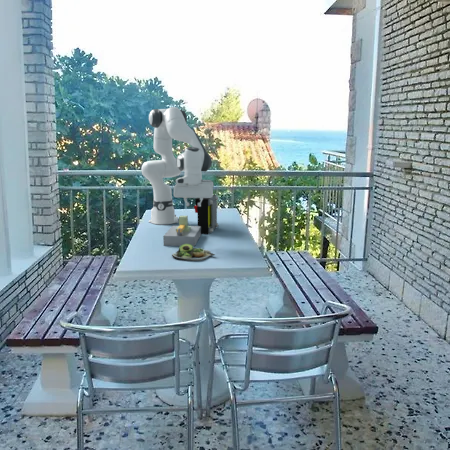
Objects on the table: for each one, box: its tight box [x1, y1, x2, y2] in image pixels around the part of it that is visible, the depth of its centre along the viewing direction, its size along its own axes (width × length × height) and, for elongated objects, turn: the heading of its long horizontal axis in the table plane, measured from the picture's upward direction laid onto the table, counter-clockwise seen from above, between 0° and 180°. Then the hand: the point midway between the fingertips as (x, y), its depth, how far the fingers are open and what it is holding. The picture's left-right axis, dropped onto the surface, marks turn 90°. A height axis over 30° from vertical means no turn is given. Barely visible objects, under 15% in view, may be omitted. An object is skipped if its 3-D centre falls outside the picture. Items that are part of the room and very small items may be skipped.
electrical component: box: [193, 194, 219, 235], centre depth 266 cm, size 18×10×20 cm, turn 168°
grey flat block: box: [162, 225, 202, 247], centre depth 246 cm, size 24×16×5 cm, turn 175°
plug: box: [176, 215, 192, 232], centre depth 247 cm, size 7×7×11 cm
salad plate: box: [171, 244, 216, 262], centre depth 217 cm, size 19×18×5 cm
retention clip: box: [177, 225, 185, 236], centre depth 240 cm, size 11×3×3 cm, turn 175°
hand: (193, 206), depth 238 cm, fingers open, 5 cm apart
